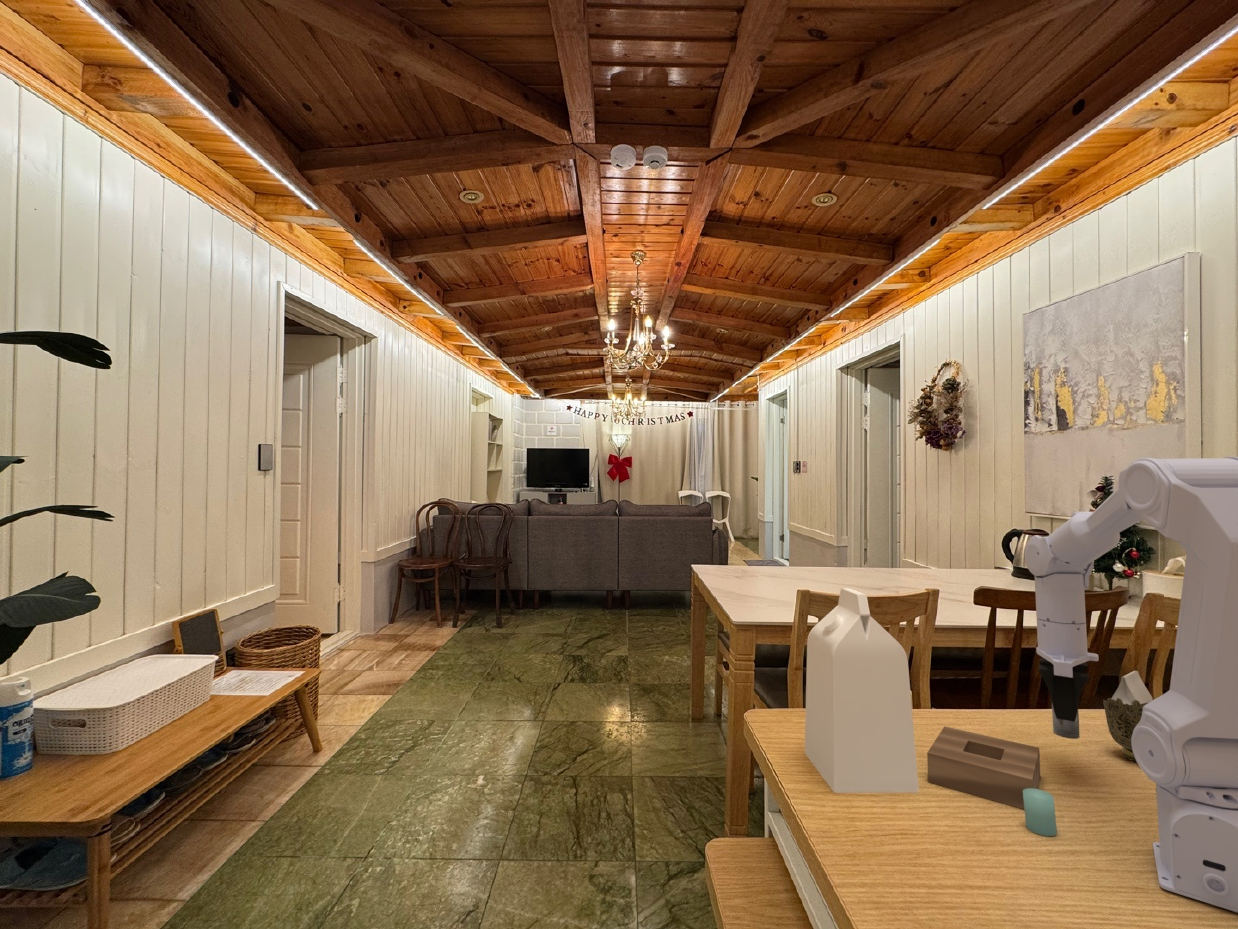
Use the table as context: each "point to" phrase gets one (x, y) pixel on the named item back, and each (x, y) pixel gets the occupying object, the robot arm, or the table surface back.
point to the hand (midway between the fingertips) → (1065, 715)
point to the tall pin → (1066, 727)
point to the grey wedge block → (1132, 689)
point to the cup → (1123, 722)
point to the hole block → (983, 766)
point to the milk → (859, 703)
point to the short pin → (1039, 812)
